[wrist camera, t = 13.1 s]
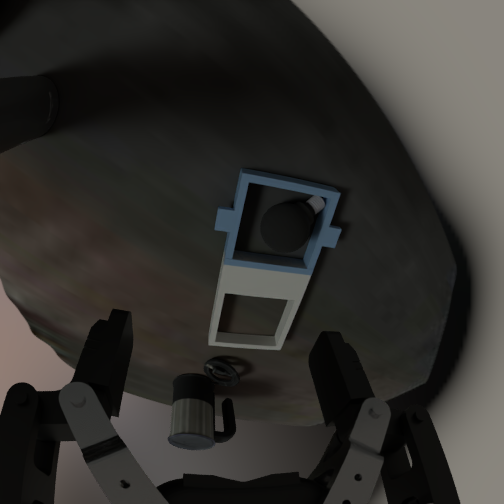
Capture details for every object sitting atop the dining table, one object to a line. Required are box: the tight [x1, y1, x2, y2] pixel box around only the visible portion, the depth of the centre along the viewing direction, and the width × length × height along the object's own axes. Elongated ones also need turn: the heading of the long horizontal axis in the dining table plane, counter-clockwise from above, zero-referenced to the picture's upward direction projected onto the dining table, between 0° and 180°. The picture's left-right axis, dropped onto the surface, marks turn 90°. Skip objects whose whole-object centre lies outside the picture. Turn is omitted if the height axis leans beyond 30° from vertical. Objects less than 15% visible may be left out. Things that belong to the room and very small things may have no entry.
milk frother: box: [168, 359, 240, 450], centre depth 51 cm, size 14×16×15 cm
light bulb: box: [261, 195, 325, 253], centre depth 38 cm, size 6×6×10 cm
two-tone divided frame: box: [208, 168, 342, 350], centre depth 43 cm, size 17×30×3 cm, turn 168°
